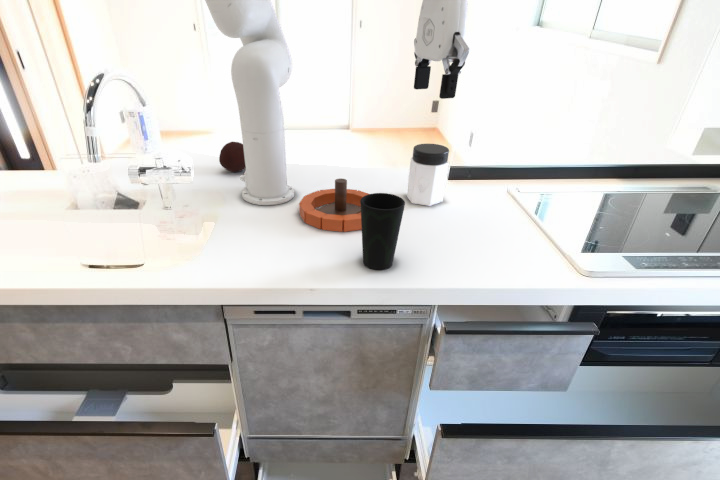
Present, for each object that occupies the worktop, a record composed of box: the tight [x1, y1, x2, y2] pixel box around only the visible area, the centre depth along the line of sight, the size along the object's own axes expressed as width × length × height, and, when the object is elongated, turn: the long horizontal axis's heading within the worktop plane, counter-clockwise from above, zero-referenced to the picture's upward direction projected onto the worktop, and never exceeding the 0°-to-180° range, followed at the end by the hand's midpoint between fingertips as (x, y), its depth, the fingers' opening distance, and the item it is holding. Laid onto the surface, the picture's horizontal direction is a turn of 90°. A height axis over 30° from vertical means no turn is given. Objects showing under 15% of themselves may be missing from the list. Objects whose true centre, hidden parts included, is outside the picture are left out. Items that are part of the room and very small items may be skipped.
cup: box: [360, 192, 406, 271], centre depth 80 cm, size 8×8×12 cm
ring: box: [298, 188, 369, 233], centre depth 100 cm, size 18×18×3 cm
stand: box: [315, 178, 361, 215], centre depth 99 cm, size 8×8×8 cm
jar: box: [406, 143, 450, 207], centre depth 105 cm, size 9×8×12 cm
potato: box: [218, 141, 246, 173], centre depth 121 cm, size 8×9×8 cm
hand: (433, 93), depth 89 cm, fingers open, 9 cm apart
